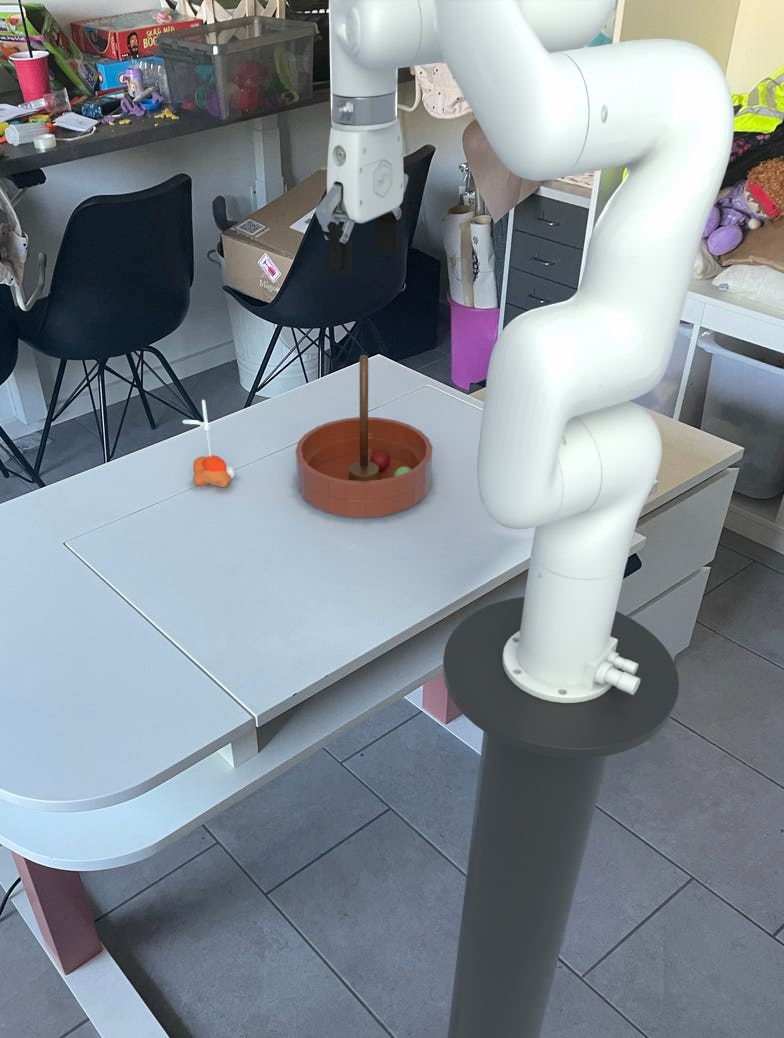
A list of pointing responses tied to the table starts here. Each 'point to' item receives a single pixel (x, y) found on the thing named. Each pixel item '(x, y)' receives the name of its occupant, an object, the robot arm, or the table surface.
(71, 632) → the table surface
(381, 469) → the red bead
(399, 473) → the green bead
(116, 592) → the table surface
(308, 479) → the bowl
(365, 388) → the wooden masher
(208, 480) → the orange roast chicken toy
